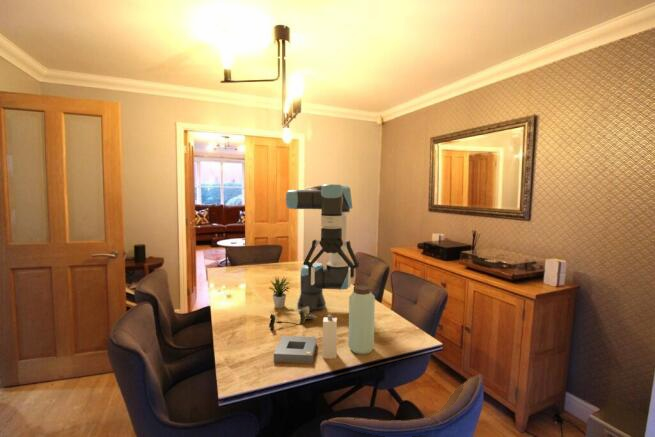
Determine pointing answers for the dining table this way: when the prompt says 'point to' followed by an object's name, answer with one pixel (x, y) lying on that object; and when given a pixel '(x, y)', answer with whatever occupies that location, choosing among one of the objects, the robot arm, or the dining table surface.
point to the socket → (295, 349)
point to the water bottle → (361, 319)
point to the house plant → (279, 292)
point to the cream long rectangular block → (329, 337)
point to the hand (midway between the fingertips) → (330, 285)
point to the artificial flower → (302, 316)
